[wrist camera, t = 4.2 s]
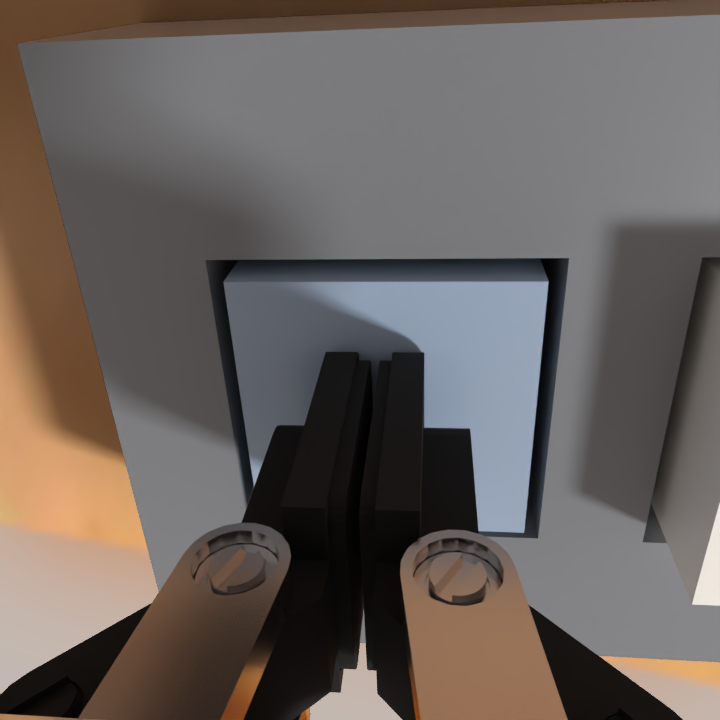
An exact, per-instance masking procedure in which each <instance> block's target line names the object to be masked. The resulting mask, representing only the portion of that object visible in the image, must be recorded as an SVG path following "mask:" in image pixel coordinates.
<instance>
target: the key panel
mask: <svg viewBox="0 0 720 720" xmlns="http://www.w3.org/2000/svg"><path fill="white" fill-rule="evenodd" d="M17 46H18V50H19V54H20V58H21V62H22V66H23V69H24V73H25V77H26V81H27V85H28V89H29V93H30V96H31V100H32V104H33V108H34V112H35V116H36V120H37V123H38V127H39V131H40V135H41V139H42V143H43V147H44V150H45V154H46V158H47V162H48V166H49V170H50V174H51V177H52V181H53V185H54V189H55V193H56V197H57V201H58V205H59V208H60V212H61V216H62V220H63V224H64V228H65V232H66V235H67V239H68V243H69V247H70V251H71V255H72V259H73V262H74V266H75V270H76V274H77V278H78V282H79V286H80V289H81V293H82V297H83V301H84V305H85V309H86V313H87V316H88V320H89V324H90V328H91V332H92V336H93V340H94V343H95V347H96V351H97V355H98V359H99V363H100V367H101V370H102V374H103V378H104V382H105V386H106V390H107V394H108V397H109V401H110V405H111V409H112V413H113V417H114V421H115V424H116V428H117V432H118V436H119V440H120V444H121V448H122V451H123V455H124V459H125V463H126V467H127V471H128V475H129V479H130V482H131V486H132V490H133V494H134V498H135V502H136V506H137V509H138V513H139V517H140V521H141V525H142V529H143V533H144V536H145V540H146V544H147V548H148V552H149V556H150V560H151V563H152V567H153V571H154V575H155V578H156V583H157V586H158V590H159V591H160V590H161V588H162V587H163V585H164V584H165V582H166V580H167V579H168V577H169V576H170V574H171V573H172V571H173V570H174V568H175V566H176V565H177V563H178V562H179V560H180V559H181V557H182V555H183V554H184V552H185V551H186V550H187V549H188V548H189V547H190V546H191V544H192V543H193V542H194V541H195V540H197V539H198V538H200V537H201V536H203V535H204V534H206V533H207V532H209V531H212V530H214V529H217V528H219V527H221V526H225V525H230V524H235V523H241V522H242V520H243V517H244V514H245V511H246V508H247V505H248V503H249V500H250V497H251V494H252V491H253V489H254V484H253V477H252V470H251V464H250V457H249V450H248V444H247V437H246V430H245V423H244V417H243V410H242V403H241V397H240V390H239V383H238V377H237V370H236V363H235V357H234V350H233V343H232V336H231V330H230V323H229V316H228V310H227V303H226V296H225V290H224V283H223V282H224V280H225V279H226V278H227V276H228V275H229V273H230V272H231V270H232V269H233V268H234V266H235V265H236V263H237V262H238V260H302V259H496V258H540V259H541V262H542V265H543V267H544V270H545V273H546V276H547V279H548V281H549V282H548V293H547V303H546V313H545V324H544V334H543V344H542V355H541V365H540V375H539V385H538V396H537V406H536V416H535V427H534V437H533V447H532V458H531V468H530V478H529V488H528V499H527V509H526V519H525V530H524V533H516V532H489V531H478V532H479V534H481V535H483V536H485V537H487V538H489V539H491V540H493V541H495V542H497V543H498V544H499V545H500V546H501V547H502V548H503V549H504V550H505V551H506V552H508V554H509V556H510V557H511V559H512V561H513V563H514V565H515V567H516V570H517V573H518V576H519V579H520V581H521V584H522V587H523V590H524V593H525V596H526V599H527V602H528V605H530V606H531V607H533V608H534V609H535V610H537V611H538V612H539V613H541V614H542V615H543V616H545V617H546V618H548V619H549V620H550V621H552V622H553V623H554V624H556V625H557V626H558V627H560V628H561V629H562V630H564V631H565V632H567V633H568V634H569V635H571V636H572V637H573V638H575V639H576V640H577V641H579V642H580V643H582V644H583V645H584V646H586V647H587V648H588V649H590V650H591V651H592V652H594V653H595V654H597V655H598V656H613V657H632V658H650V659H669V660H687V661H706V662H720V606H714V605H692V604H691V601H690V599H689V596H688V594H687V591H686V589H685V586H684V584H683V581H682V579H681V576H680V574H679V571H678V569H677V566H676V564H675V561H674V559H673V556H672V554H671V551H670V549H669V547H668V544H667V542H666V539H665V537H664V534H663V532H662V529H661V527H660V524H659V522H658V519H657V517H656V514H655V512H654V509H653V507H652V504H651V500H652V495H653V490H654V486H655V481H656V476H657V471H658V467H659V462H660V457H661V452H662V448H663V443H664V438H665V433H666V429H667V424H668V419H669V414H670V409H671V405H672V400H673V395H674V390H675V386H676V381H677V376H678V371H679V367H680V362H681V357H682V352H683V348H684V343H685V338H686V333H687V328H688V324H689V319H690V314H691V309H692V305H693V300H694V295H695V290H696V286H697V281H698V276H699V271H700V266H701V262H702V257H720V0H663V1H639V2H616V3H593V4H570V5H547V6H523V7H500V8H477V9H454V10H431V11H407V12H384V13H361V14H338V15H315V16H291V17H268V18H245V19H222V20H199V21H176V22H152V23H136V24H130V25H124V26H118V27H112V28H106V29H100V30H94V31H88V32H82V33H76V34H70V35H64V36H58V37H51V38H45V39H39V40H33V41H27V42H21V43H17ZM360 643H366V638H365V620H364V610H363V619H362V628H361V637H360Z"/></svg>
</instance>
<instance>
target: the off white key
mask: <svg viewBox="0 0 720 720" xmlns="http://www.w3.org/2000/svg"><path fill="white" fill-rule="evenodd" d="M651 504H652V507H653V509H654V512H655V514H656V517H657V519H658V522H659V524H660V527H661V529H662V532H663V534H664V537H665V539H666V542H667V544H668V547H669V549H670V551H671V554H672V556H673V559H674V561H675V564H676V566H677V569H678V571H679V574H680V576H681V579H682V581H683V584H684V586H685V589H686V591H687V594H688V596H689V599H690V601H691V604H692V605H714V606H720V257H702V262H701V266H700V271H699V276H698V281H697V286H696V290H695V295H694V300H693V305H692V309H691V314H690V319H689V324H688V328H687V333H686V338H685V343H684V348H683V352H682V357H681V362H680V367H679V371H678V376H677V381H676V386H675V390H674V395H673V400H672V405H671V409H670V414H669V419H668V424H667V429H666V433H665V438H664V443H663V448H662V452H661V457H660V462H659V467H658V471H657V476H656V481H655V486H654V490H653V495H652V500H651Z"/></svg>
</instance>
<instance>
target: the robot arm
mask: <svg viewBox="0 0 720 720" xmlns="http://www.w3.org/2000/svg"><path fill="white" fill-rule="evenodd" d="M363 610H364V620H365V638H366V655H367V669H368V670H377V691H378V695H380V697H381V698H382V699H383V700H385V702H386V703H387V704H388V705H389V706H390V707H391V708H392V709H393V710H394V711H395V712H396V713H397V714H398V715H399V716H400V717H401V718H402V719H403V720H682V718H680V717H679V716H678V715H677V714H676V713H675V712H674V711H673V710H671V709H670V708H669V707H667V706H666V705H665V704H663V703H662V702H660V701H659V700H658V699H656V698H655V697H654V696H652V695H651V694H650V693H648V692H647V691H645V690H644V689H643V688H641V687H640V686H639V685H637V684H636V683H635V682H633V681H632V680H630V679H629V678H628V677H626V676H625V675H624V674H622V673H621V672H620V671H618V670H617V669H616V668H614V667H613V666H612V665H610V664H609V663H607V662H606V661H605V660H603V659H602V658H601V657H599V656H598V655H597V654H595V653H594V652H592V651H591V650H590V649H588V648H587V647H586V646H584V645H583V644H582V643H580V642H579V641H577V640H576V639H575V638H573V637H572V636H571V635H569V634H568V633H567V632H565V631H564V630H562V629H561V628H560V627H558V626H557V625H556V624H554V623H553V622H552V621H550V620H549V619H548V618H546V617H545V616H543V615H542V614H541V613H539V612H538V611H537V610H535V609H534V608H533V607H531V606H530V605H528V602H527V599H526V596H525V593H524V590H523V587H522V584H521V581H520V579H519V576H518V573H517V570H516V567H515V565H514V563H513V561H512V559H511V557H510V556H509V554H508V552H506V551H505V550H504V549H503V548H502V547H501V546H500V545H499V544H498V543H497V542H495V541H493V540H491V539H489V538H487V537H485V536H483V535H481V534H479V532H478V519H477V507H476V494H475V481H474V469H473V456H472V444H471V433H470V428H424V352H393V353H392V360H391V361H383V360H380V363H379V369H378V376H377V383H376V390H375V397H374V404H373V399H372V374H371V361H370V360H359V353H358V352H326V353H325V356H324V359H323V363H322V366H321V369H320V373H319V376H318V380H317V383H316V387H315V390H314V393H313V397H312V400H311V404H310V407H309V411H308V414H307V417H306V421H305V424H304V425H278V426H276V428H275V430H274V432H273V435H272V438H271V441H270V443H269V446H268V449H267V452H266V455H265V458H264V460H263V463H262V466H261V469H260V472H259V474H258V477H257V480H256V483H255V486H254V489H253V491H252V494H251V497H250V500H249V503H248V505H247V508H246V511H245V514H244V517H243V520H242V522H241V523H235V524H230V525H225V526H221V527H219V528H217V529H214V530H212V531H209V532H207V533H206V534H204V535H203V536H201V537H200V538H198V539H197V540H195V541H194V542H193V543H192V544H191V546H190V547H189V548H188V549H187V550H186V551H185V552H184V554H183V555H182V557H181V559H180V560H179V562H178V563H177V565H176V566H175V568H174V570H173V571H172V573H171V574H170V576H169V577H168V579H167V580H166V582H165V584H164V585H163V587H162V588H161V590H160V591H159V593H158V594H157V596H156V598H155V599H154V601H153V602H152V603H151V604H149V605H148V606H146V607H144V608H142V609H140V610H139V611H137V612H135V613H133V614H132V615H130V616H128V617H126V618H124V619H123V620H121V621H119V622H117V623H116V624H114V625H112V626H110V627H109V628H107V629H105V630H103V631H101V632H100V633H98V634H96V635H94V636H92V637H91V638H89V639H87V640H85V641H84V642H82V643H80V644H78V645H77V646H75V647H73V648H71V649H69V650H68V651H66V652H64V653H63V654H61V655H59V656H57V657H55V658H54V659H52V660H50V661H48V662H47V663H45V664H43V665H41V666H39V667H37V668H36V669H34V670H32V671H30V672H29V673H27V674H26V675H24V676H23V677H21V678H20V679H18V680H17V681H16V682H14V683H13V684H11V685H10V686H9V687H8V688H7V689H6V690H5V691H4V692H3V693H2V694H0V720H310V707H311V706H312V705H313V704H315V703H316V702H317V701H319V700H320V699H321V698H323V697H324V696H325V695H327V694H328V693H329V692H341V684H342V677H343V669H356V668H357V662H358V655H359V646H360V637H361V628H362V619H363Z"/></svg>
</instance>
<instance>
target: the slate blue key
mask: <svg viewBox="0 0 720 720" xmlns="http://www.w3.org/2000/svg"><path fill="white" fill-rule="evenodd" d="M548 282H549V281H548V279H547V276H546V273H545V270H544V267H543V265H542V262H541V259H540V258H496V259H302V260H238V262H237V263H236V265H235V266H234V268H233V269H232V270H231V272H230V273H229V275H228V276H227V278H226V279H225V280H224V282H223V283H224V290H225V296H226V303H227V310H228V316H229V323H230V330H231V336H232V343H233V350H234V357H235V363H236V370H237V377H238V383H239V390H240V397H241V403H242V410H243V417H244V423H245V430H246V437H247V444H248V450H249V457H250V464H251V470H252V477H253V484H254V486H255V483H256V480H257V477H258V474H259V472H260V469H261V466H262V463H263V460H264V458H265V455H266V452H267V449H268V446H269V443H270V441H271V438H272V435H273V432H274V430H275V428H276V426H278V425H304V424H305V421H306V417H307V414H308V411H309V407H310V404H311V400H312V397H313V393H314V390H315V387H316V383H317V380H318V376H319V373H320V369H321V366H322V363H323V359H324V356H325V353H326V352H358V353H359V360H370V361H371V374H372V399H373V404H374V397H375V390H376V383H377V376H378V369H379V363H380V360H383V361H391V360H392V353H393V352H424V428H470V433H471V444H472V456H473V469H474V481H475V494H476V507H477V519H478V531H489V532H516V533H524V530H525V519H526V509H527V499H528V488H529V478H530V468H531V458H532V447H533V437H534V427H535V416H536V406H537V396H538V385H539V375H540V365H541V355H542V344H543V334H544V324H545V313H546V303H547V293H548Z"/></svg>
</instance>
